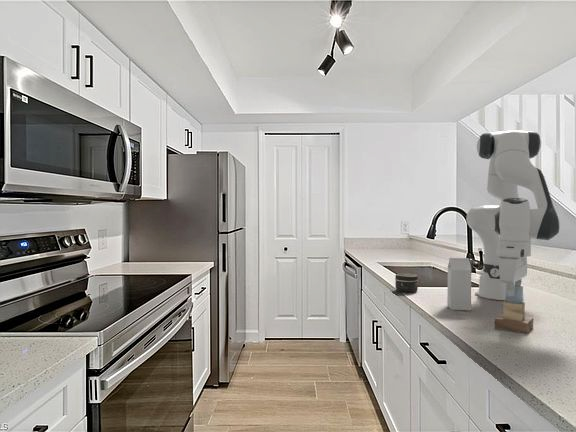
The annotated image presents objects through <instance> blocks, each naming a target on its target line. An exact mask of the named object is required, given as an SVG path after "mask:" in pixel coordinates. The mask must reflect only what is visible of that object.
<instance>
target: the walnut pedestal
mask: <svg viewBox="0 0 576 432" xmlns="http://www.w3.org/2000/svg"><path fill="white" fill-rule="evenodd" d="M533 328H534V317H531V316H525V318H524V319H523V320H522V321H518V320H511V319H504V318H503V313H500V314H499V315H498V316H496V317H494V329H499V330H503V331H510V332H514V333H515V332H517V333H522V334H528V333H529V332H530V331H531V330H532V329H533Z"/></svg>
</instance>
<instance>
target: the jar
mask: <svg viewBox="0 0 576 432" xmlns="http://www.w3.org/2000/svg"><path fill="white" fill-rule="evenodd" d="M394 277H395V278H394V279H395V285H394V287H395V290H396V292H397V293H401V294H416V293H417V292H418V288H419V275H418V274H413V273H395V276H394Z"/></svg>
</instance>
